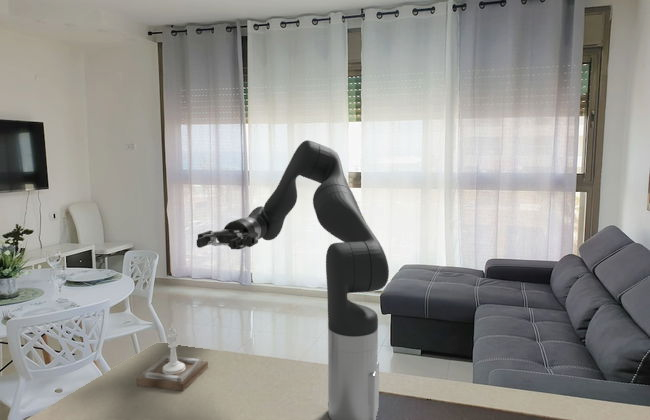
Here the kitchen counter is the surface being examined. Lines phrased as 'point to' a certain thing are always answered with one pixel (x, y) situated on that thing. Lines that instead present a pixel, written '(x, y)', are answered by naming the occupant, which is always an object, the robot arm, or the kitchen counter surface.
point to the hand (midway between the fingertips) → (215, 244)
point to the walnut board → (175, 381)
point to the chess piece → (173, 356)
